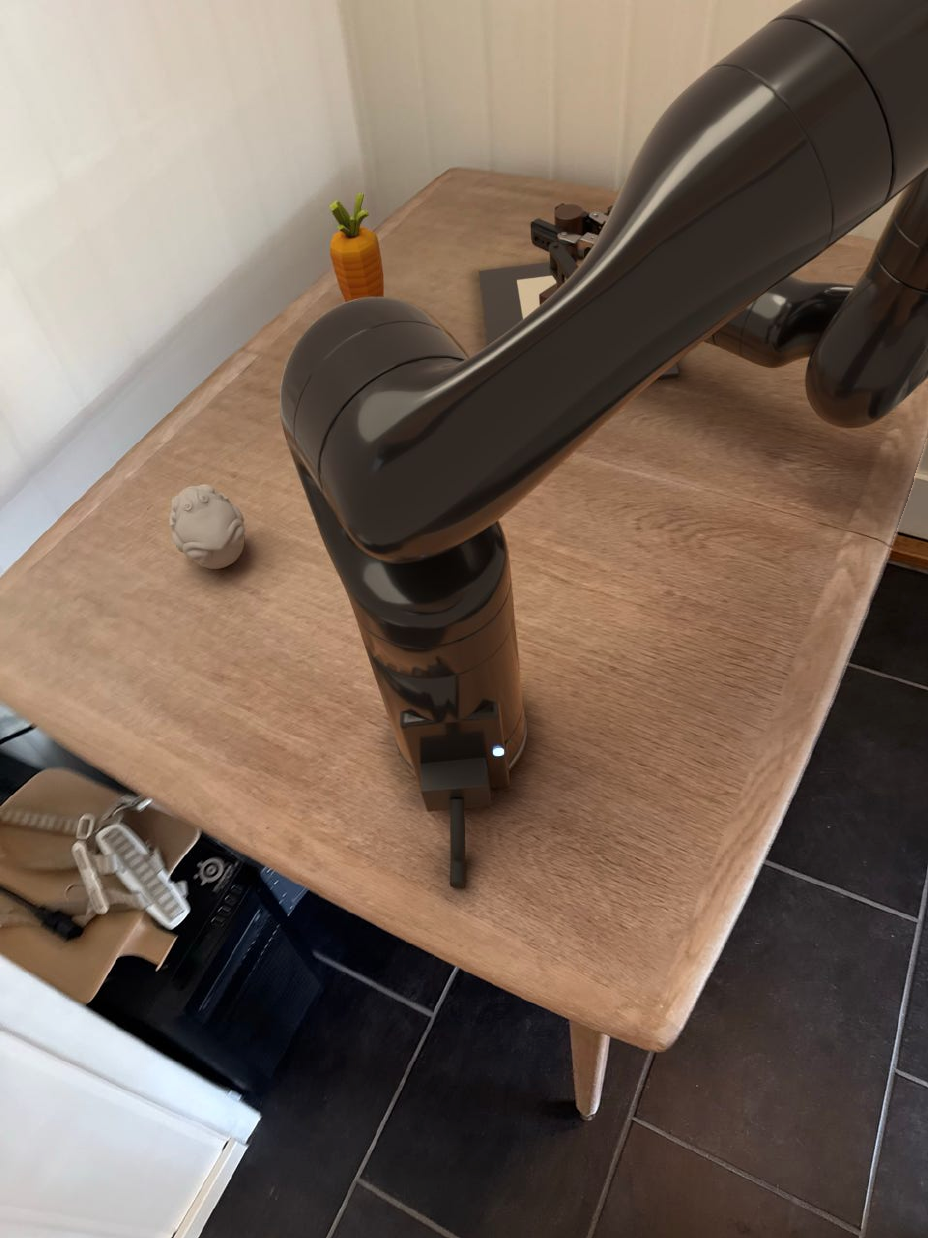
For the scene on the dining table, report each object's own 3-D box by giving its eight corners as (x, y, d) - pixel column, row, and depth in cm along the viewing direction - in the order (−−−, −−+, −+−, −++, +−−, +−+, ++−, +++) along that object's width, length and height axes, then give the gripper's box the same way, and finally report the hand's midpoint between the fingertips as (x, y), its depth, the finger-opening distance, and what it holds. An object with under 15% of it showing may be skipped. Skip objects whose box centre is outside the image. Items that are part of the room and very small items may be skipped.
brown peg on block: (601, 327, 88) (603, 210, 78) (576, 344, 87) (575, 228, 77) (564, 309, 90) (562, 194, 81) (540, 325, 89) (534, 211, 80)
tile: (678, 376, 85) (679, 366, 84) (493, 398, 86) (492, 388, 85) (638, 253, 98) (639, 243, 97) (478, 273, 99) (477, 263, 98)
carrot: (387, 315, 96) (361, 178, 84) (401, 339, 93) (376, 200, 81) (344, 328, 95) (311, 192, 83) (357, 353, 92) (324, 215, 80)
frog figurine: (239, 518, 79) (213, 460, 74) (269, 565, 75) (244, 508, 70) (176, 548, 78) (145, 491, 72) (204, 598, 74) (173, 542, 68)
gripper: (752, 206, 73) (595, 150, 82) (642, 283, 68) (488, 215, 77) (739, 288, 79) (595, 227, 88) (637, 364, 74) (495, 292, 83)
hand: (545, 222), depth 82 cm, fingers closed on brown peg on block, 2 cm apart
